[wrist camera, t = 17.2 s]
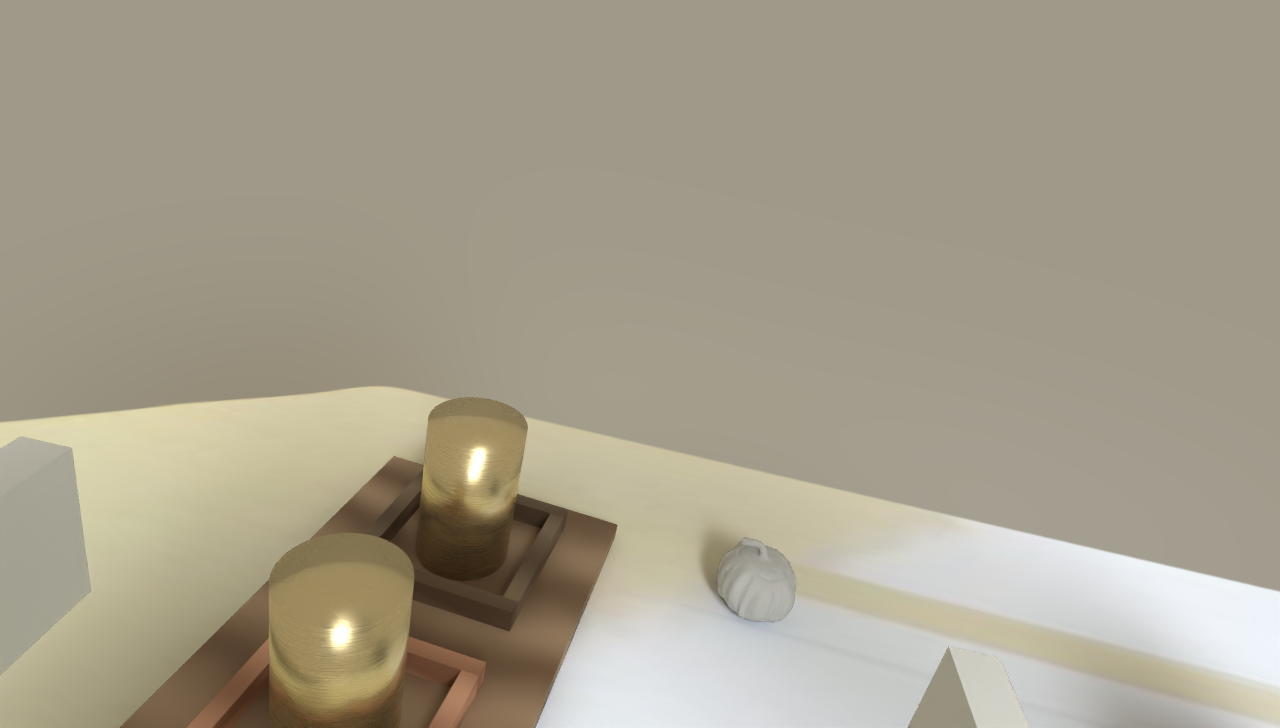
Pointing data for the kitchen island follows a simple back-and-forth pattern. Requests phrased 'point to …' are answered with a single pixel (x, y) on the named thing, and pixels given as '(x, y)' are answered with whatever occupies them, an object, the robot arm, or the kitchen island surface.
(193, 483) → the kitchen island surface
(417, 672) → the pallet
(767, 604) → the garlic
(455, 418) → the cylinder
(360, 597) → the brass billet
